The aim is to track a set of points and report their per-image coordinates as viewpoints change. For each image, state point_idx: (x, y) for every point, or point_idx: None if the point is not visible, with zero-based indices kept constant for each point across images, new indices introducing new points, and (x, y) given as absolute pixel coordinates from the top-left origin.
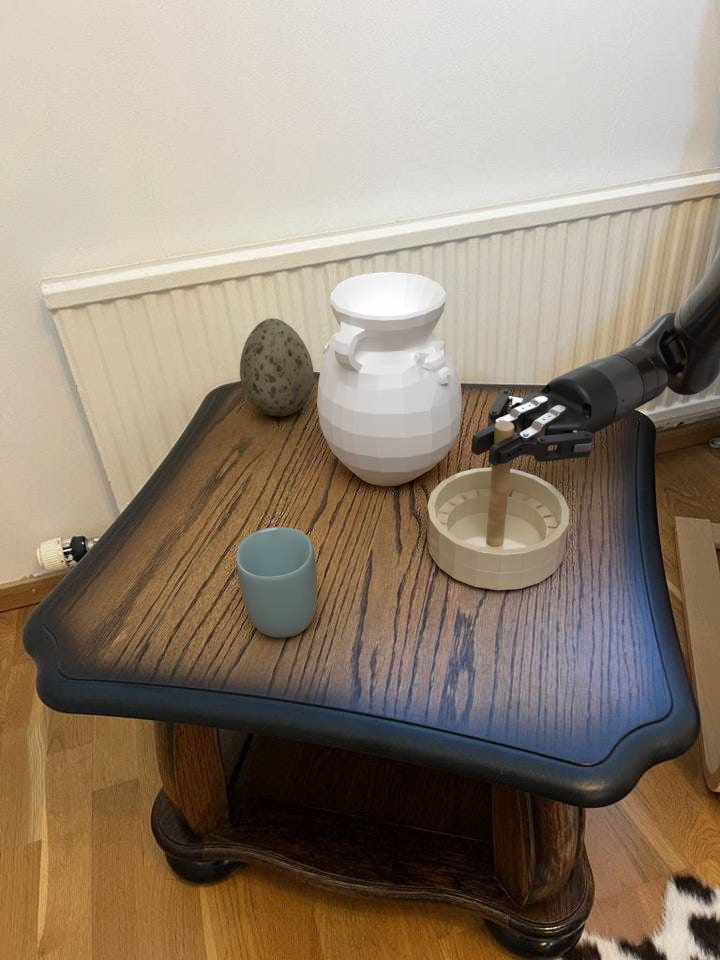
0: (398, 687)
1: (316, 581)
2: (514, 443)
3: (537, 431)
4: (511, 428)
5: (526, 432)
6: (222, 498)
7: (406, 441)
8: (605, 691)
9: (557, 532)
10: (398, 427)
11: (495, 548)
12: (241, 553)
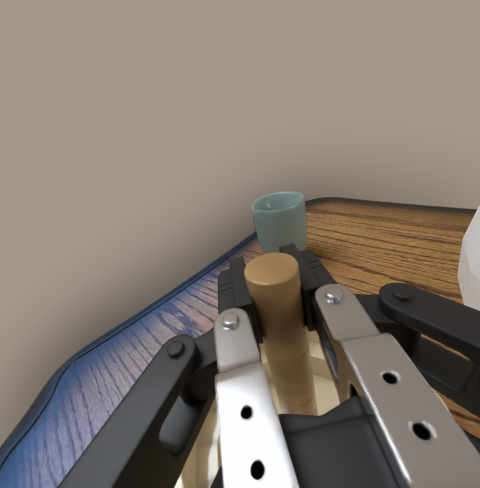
0: (203, 292)
1: (268, 236)
2: (232, 300)
3: (219, 359)
4: (249, 274)
5: (231, 321)
6: (452, 236)
7: (470, 279)
8: (71, 423)
9: (177, 484)
10: (478, 245)
11: None
12: (287, 194)
